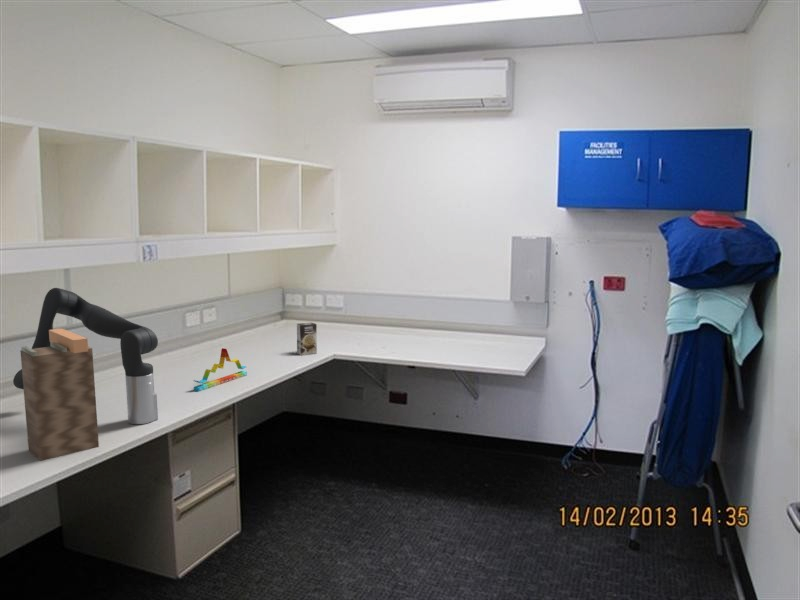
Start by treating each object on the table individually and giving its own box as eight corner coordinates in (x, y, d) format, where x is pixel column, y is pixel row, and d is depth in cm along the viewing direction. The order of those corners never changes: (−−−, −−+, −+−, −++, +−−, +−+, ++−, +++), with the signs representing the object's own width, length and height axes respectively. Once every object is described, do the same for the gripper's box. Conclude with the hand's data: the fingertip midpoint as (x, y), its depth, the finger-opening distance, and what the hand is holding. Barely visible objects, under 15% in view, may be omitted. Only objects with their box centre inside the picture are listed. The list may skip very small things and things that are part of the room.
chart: (199, 392, 268) (197, 357, 266) (193, 391, 269) (192, 356, 267) (247, 375, 295) (246, 343, 293) (242, 375, 296) (241, 343, 294)
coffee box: (301, 355, 335) (300, 325, 333) (296, 353, 340) (296, 323, 338) (317, 353, 339) (316, 323, 337) (313, 351, 345) (312, 321, 343)
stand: (85, 437, 213) (78, 339, 209) (98, 446, 205) (91, 344, 200) (28, 450, 202) (20, 346, 197) (40, 460, 193) (31, 352, 189)
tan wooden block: (62, 340, 213) (62, 328, 212) (88, 351, 196) (87, 338, 195) (49, 342, 210) (48, 329, 210) (74, 353, 193) (73, 340, 193)
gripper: (14, 359, 224) (24, 342, 213) (59, 353, 234) (70, 336, 223) (19, 379, 223) (29, 363, 212) (63, 372, 232) (75, 356, 221)
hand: (50, 349), depth 217 cm, fingers open, 8 cm apart
